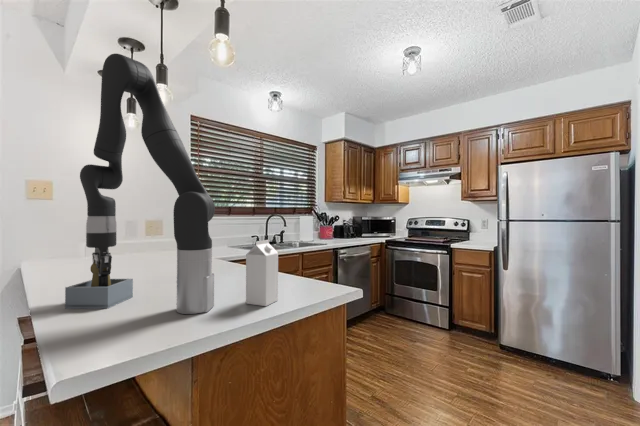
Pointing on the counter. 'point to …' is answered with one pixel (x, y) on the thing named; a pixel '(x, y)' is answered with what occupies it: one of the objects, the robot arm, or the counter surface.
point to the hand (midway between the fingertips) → (101, 286)
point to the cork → (95, 276)
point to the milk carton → (262, 274)
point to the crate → (98, 294)
